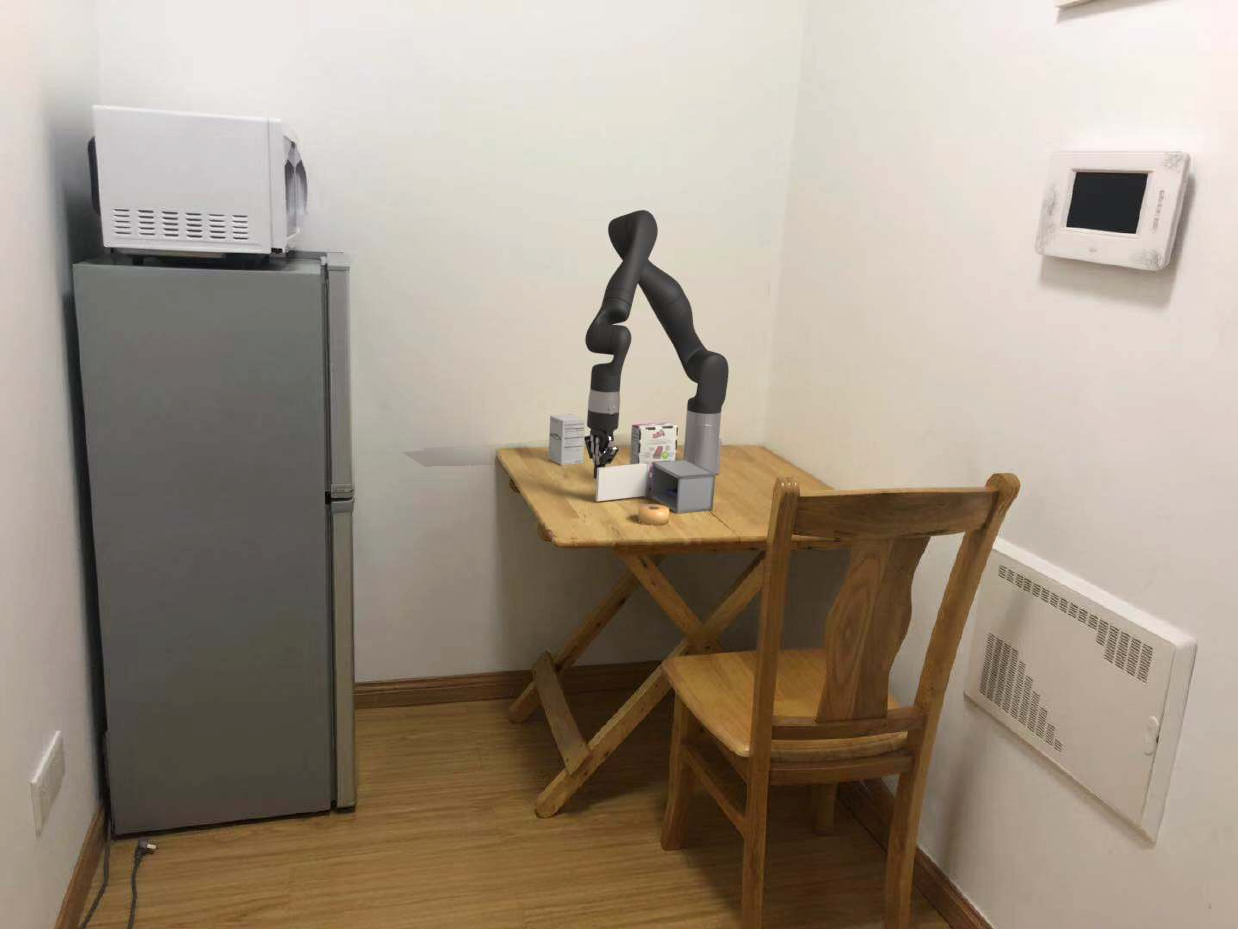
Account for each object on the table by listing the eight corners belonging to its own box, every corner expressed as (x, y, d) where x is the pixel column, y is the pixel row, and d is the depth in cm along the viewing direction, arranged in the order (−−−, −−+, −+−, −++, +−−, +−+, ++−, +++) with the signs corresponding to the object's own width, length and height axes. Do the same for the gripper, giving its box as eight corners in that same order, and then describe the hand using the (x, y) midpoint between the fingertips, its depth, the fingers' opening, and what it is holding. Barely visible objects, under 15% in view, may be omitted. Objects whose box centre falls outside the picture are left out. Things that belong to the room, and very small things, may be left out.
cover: (646, 495, 246) (648, 462, 244) (649, 497, 244) (651, 463, 242) (594, 502, 238) (596, 467, 236) (597, 503, 237) (599, 469, 235)
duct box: (683, 494, 249) (686, 459, 247) (712, 510, 237) (715, 473, 234) (650, 497, 245) (652, 461, 242) (677, 513, 233) (680, 476, 230)
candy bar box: (665, 483, 258) (669, 421, 254) (675, 488, 254) (679, 425, 250) (627, 486, 253) (631, 423, 249) (636, 491, 249) (640, 427, 245)
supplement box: (547, 459, 276) (549, 414, 273) (570, 457, 280) (572, 413, 277) (560, 465, 270) (562, 420, 267) (584, 463, 274) (586, 418, 271)
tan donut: (660, 515, 230) (661, 502, 230) (673, 524, 224) (674, 511, 223) (632, 517, 228) (633, 504, 227) (645, 526, 221) (646, 513, 221)
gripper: (576, 403, 239) (571, 473, 243) (604, 415, 228) (599, 487, 233) (603, 402, 243) (598, 470, 247) (631, 413, 232) (626, 485, 236)
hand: (598, 478), depth 240 cm, fingers closed
